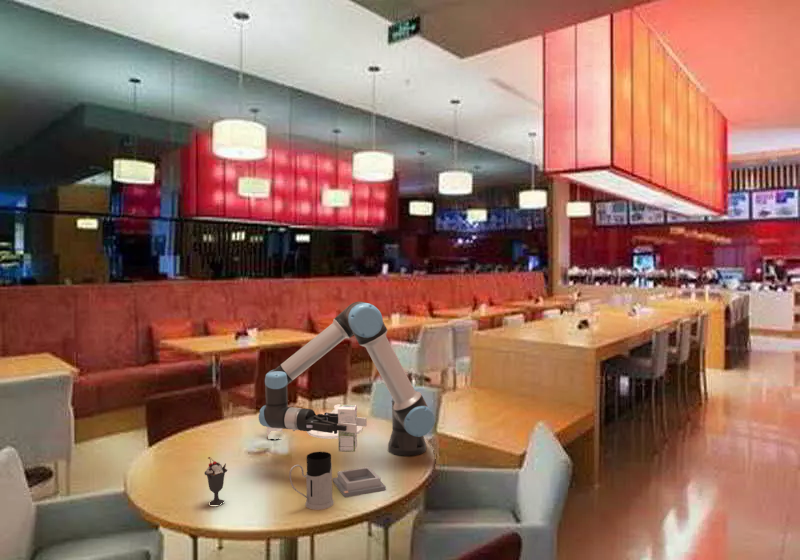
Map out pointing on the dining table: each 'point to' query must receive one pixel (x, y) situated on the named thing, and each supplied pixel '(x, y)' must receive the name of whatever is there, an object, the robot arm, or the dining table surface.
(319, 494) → the glass holder
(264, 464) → the dining table surface
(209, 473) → the sundae
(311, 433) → the dish
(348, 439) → the syrup box
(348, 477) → the box holder
